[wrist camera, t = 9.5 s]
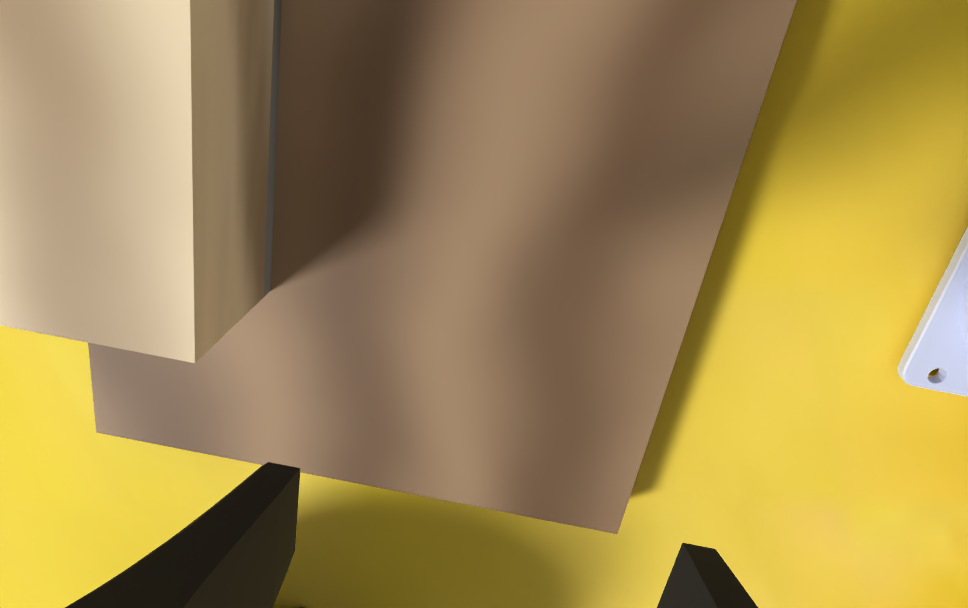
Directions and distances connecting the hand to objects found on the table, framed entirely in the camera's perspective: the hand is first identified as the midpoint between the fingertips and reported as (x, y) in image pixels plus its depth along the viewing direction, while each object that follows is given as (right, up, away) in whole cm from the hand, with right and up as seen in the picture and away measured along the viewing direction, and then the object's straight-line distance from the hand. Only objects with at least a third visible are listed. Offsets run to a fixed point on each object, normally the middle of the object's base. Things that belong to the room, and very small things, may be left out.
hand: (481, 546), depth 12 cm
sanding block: (-8, +9, +5) cm, 14 cm away
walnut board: (-2, +9, +7) cm, 11 cm away
